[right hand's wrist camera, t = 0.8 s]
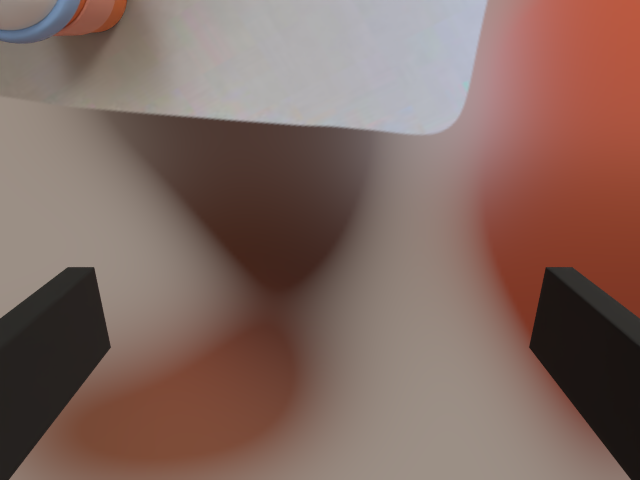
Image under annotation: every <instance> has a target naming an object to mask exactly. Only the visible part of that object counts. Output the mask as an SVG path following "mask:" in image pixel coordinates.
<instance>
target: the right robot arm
mask: <svg viewBox="0 0 640 480" xmlns="http://www.w3.org/2000/svg"><path fill="white" fill-rule="evenodd" d="M110 348H111V346H110V341H109V337H108V332H107V327H106V322H105V318H104V313H103V308H102V303H101V298H100V293H99V289H98V284H97V279H96V274H95V269H94V267H68V268H66V269H65V270H64V271H62V272H61V273H60V274H58V275H57V276H56V277H54V278H53V279H52V280H50V281H49V282H48V283H47V284H45V285H44V286H43V287H41V288H40V289H39V290H37V291H36V292H35V293H33V294H32V295H31V296H29V297H28V298H27V299H25V300H24V301H23V302H21V303H20V304H19V305H17V306H16V307H15V308H14V309H12V310H11V311H10V312H8V313H7V314H6V315H4V316H3V317H2V318H0V480H9V479H10V478H11V476H12V475H13V474H14V472H15V471H16V470H17V468H18V467H19V466H20V465H21V463H22V462H23V461H24V459H25V458H26V457H27V455H28V454H29V453H30V451H31V450H32V449H33V448H34V446H35V445H36V444H37V442H38V441H39V440H40V439H41V437H42V436H43V435H44V433H45V432H46V431H47V429H48V428H49V427H50V426H51V424H52V423H53V422H54V420H55V419H56V418H57V417H58V415H59V414H60V413H61V411H62V410H63V409H64V407H65V406H66V405H67V404H68V402H69V401H70V400H71V398H72V397H73V396H74V394H75V393H76V392H77V391H78V389H79V388H80V387H81V385H82V384H83V383H84V381H85V380H86V379H87V378H88V376H89V375H90V374H91V372H92V371H93V370H94V368H95V367H96V366H97V365H98V363H99V362H100V361H101V359H102V358H103V357H104V355H105V354H106V353H107V352H108V350H109V349H110ZM529 348H530V349H531V350H532V352H533V353H534V354H535V355H536V357H537V358H538V359H539V361H540V362H541V363H542V365H543V366H544V367H545V368H546V370H547V371H548V372H549V374H550V375H551V376H552V378H553V379H554V380H555V381H556V383H557V384H558V385H559V387H560V388H561V389H562V391H563V392H564V393H565V394H566V396H567V397H568V398H569V400H570V401H571V402H572V404H573V405H574V406H575V407H576V409H577V410H578V411H579V413H580V414H581V415H582V417H583V418H584V419H585V420H586V422H587V423H588V424H589V426H590V427H591V428H592V429H593V431H594V432H595V433H596V435H597V436H598V437H599V439H600V440H601V441H602V442H603V444H604V445H605V446H606V448H607V449H608V450H609V452H610V453H611V454H612V455H613V457H614V458H615V459H616V461H617V462H618V463H619V465H620V466H621V467H622V468H623V470H624V471H625V472H626V474H627V475H628V476H629V478H630V479H631V480H640V319H639V318H638V317H637V316H636V315H634V314H633V313H632V312H630V311H629V310H628V309H626V308H625V307H624V306H623V305H621V304H620V303H619V302H617V301H616V300H615V299H613V298H612V297H611V296H609V295H608V294H607V293H605V292H604V291H603V290H601V289H600V288H599V287H597V286H596V285H595V284H594V283H592V282H591V281H590V280H588V279H587V278H586V277H584V276H583V275H582V274H580V273H579V272H578V271H576V270H575V269H574V268H572V267H546V269H545V274H544V279H543V284H542V289H541V293H540V298H539V303H538V308H537V313H536V317H535V322H534V327H533V332H532V337H531V341H530V346H529Z"/></svg>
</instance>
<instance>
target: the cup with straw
mask: <svg viewBox="0 0 640 480" xmlns="http://www.w3.org/2000/svg"><path fill="white" fill-rule="evenodd" d="M126 3H127V0H0V41H5V42H10V43H33V42H38V41H41V40H44V39H47V38H49V37H51V36H73V35H84V34H88V33H94V32H102V31H105V30H108V29H110V28H111V27H113V26H114V25H115V24H116V23H117V22H118V21H119V20H120V19H121V17H122V15H123V13H124V11H125V8H126Z"/></svg>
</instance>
